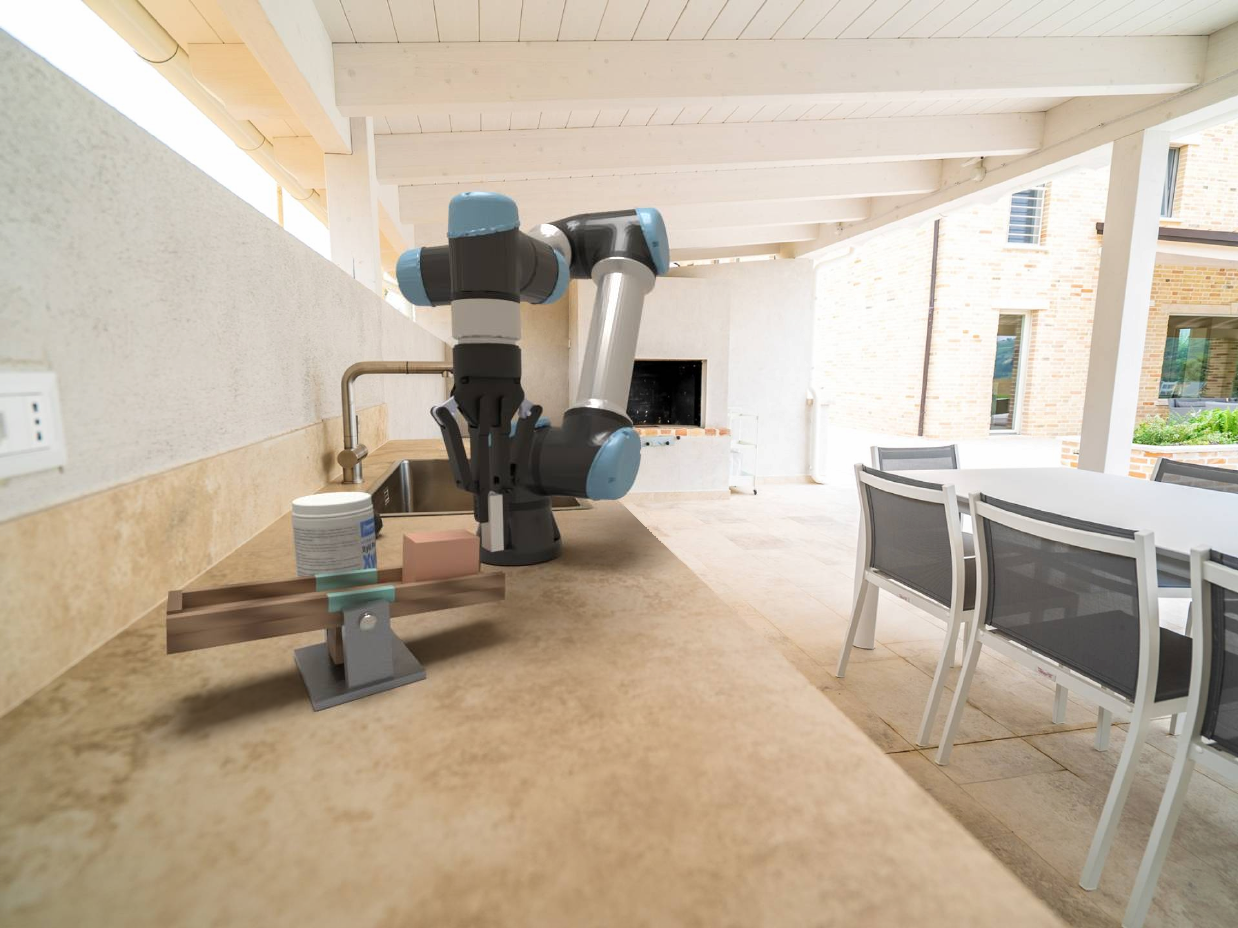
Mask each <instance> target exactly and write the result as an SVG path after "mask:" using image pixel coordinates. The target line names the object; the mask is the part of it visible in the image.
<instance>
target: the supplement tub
mask: <svg viewBox="0 0 1238 928" xmlns="http://www.w3.org/2000/svg"><path fill="white" fill-rule="evenodd" d="M372 501H373V500H372V495H371V494H370V493H367V492H363V491H350V492H349V491H336V492H325V493H324V492H323V493H318V494H317V493H316V494H310V495H305V496H302V497H298V498H296V499H294V500H292V502H291V509H292V511H291V522H292V525H291V526H292V536H293V545H294V547H293V549H294V557H295V568H296V569H295V570H296V577H301V576H309V575H318V574H327V573H336V572H345V571H354V570H363V569H372V568H378V561H377V560H378V558H377V545H376V544H377V543H376V536H375V526H374V513H373V508H374V504H373V502H372ZM372 507H373V508H372Z"/></svg>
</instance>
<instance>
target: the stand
mask: <svg viewBox="0 0 1238 928" xmlns="http://www.w3.org/2000/svg"><path fill="white" fill-rule="evenodd" d="M340 611H341V625H342V639H343V654H344V663H341V664H336V665H335V663H334V661H333V659H332V657H331V655H330V653H329V651H328V629H323V631H324V641H323V642H320V643H317V644H312V645H308V646H304V647H300V648H295V649H293V655H294V656H293V657H294V659H295V662H296V665H297V667H298V670H299V673H300V675H301V678H302V680H303V683H304V685H305V689H306V690H307V694H308V696H309V699H310V701H311V703H312V707H313V709H314V711H315V712H317V711H321V710H325V709H328V708H331V707H334V706H338V705H341V704H344V703H348V702H351V701H355V700H357V699H361V698H364V697H368V696H371V695H376V694H378V693H381V692H384V691H387V690H390V689H395V688H397V687H398V688H399V687H401V686H403V685H407V684H410V683H414V682H418V681H420V680H424V679H425V680H426V679H427V671H426V669H425V667H424V666H422V664H421V663H420V662H419V660H418V659H417V658H416V657H415V655H414V654H413V652H411V651H410V650H409V648H408V647H407V645H405V643H404V642H403V641H402V639H400V637H399V636H398V634H396V632H395V631H394V630H393V628H391V618H390V611H389V603H388V602H387V600H386V599H385V598H384V599H379V600H374V601H369V602H365V603H360V604H355V605H350V606H346V607H341V608H340Z"/></svg>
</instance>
